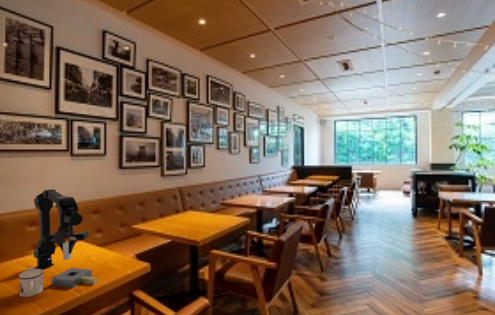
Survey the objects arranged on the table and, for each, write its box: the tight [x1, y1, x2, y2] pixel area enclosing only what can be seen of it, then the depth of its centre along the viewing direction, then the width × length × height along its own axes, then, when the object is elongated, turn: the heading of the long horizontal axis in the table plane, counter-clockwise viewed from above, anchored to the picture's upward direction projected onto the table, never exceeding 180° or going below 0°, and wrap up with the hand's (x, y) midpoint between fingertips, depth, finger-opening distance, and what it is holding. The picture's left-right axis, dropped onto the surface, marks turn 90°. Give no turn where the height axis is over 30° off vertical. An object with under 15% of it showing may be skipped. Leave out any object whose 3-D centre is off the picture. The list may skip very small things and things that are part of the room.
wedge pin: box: [62, 241, 72, 260], centre depth 144 cm, size 3×3×8 cm
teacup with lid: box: [18, 266, 44, 298], centre depth 131 cm, size 12×9×12 cm
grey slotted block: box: [51, 267, 98, 289], centre depth 143 cm, size 19×12×4 cm, turn 79°
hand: (67, 253), depth 144 cm, fingers closed on wedge pin, 3 cm apart
